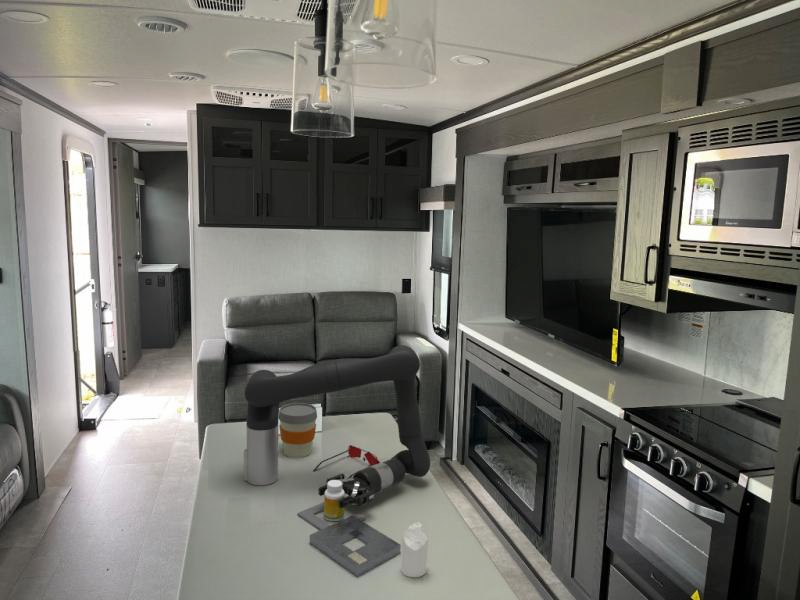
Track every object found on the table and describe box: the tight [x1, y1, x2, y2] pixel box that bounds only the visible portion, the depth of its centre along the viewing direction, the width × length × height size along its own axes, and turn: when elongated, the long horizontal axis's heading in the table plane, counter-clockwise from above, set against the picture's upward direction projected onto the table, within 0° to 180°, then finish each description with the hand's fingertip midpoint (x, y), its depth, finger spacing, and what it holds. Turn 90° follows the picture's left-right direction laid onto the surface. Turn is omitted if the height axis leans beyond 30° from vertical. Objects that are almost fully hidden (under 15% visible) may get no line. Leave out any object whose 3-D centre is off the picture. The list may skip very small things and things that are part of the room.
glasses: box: [312, 444, 381, 478], centre depth 190 cm, size 14×16×5 cm
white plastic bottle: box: [400, 521, 429, 578], centre depth 140 cm, size 6×12×6 cm
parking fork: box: [296, 501, 366, 531], centre depth 162 cm, size 12×14×1 cm
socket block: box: [309, 515, 402, 578], centre depth 149 cm, size 18×14×2 cm
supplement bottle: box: [323, 480, 346, 522], centre depth 162 cm, size 5×5×10 cm
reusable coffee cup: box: [278, 402, 318, 459], centre depth 201 cm, size 13×12×15 cm
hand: (329, 498), depth 161 cm, fingers open, 8 cm apart
